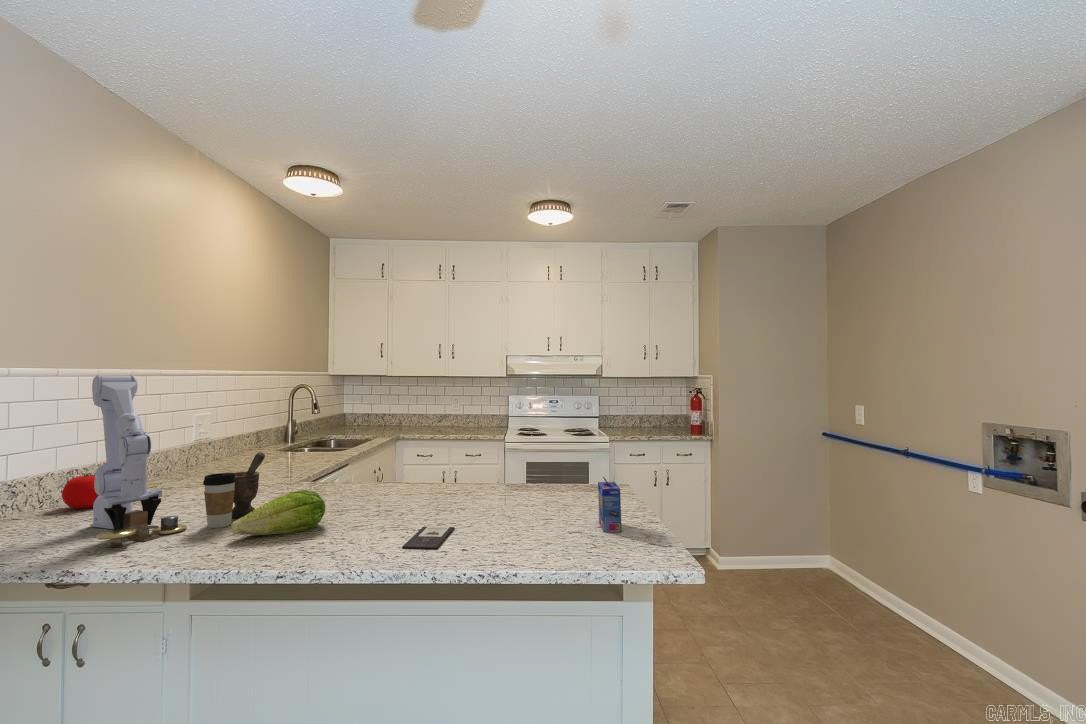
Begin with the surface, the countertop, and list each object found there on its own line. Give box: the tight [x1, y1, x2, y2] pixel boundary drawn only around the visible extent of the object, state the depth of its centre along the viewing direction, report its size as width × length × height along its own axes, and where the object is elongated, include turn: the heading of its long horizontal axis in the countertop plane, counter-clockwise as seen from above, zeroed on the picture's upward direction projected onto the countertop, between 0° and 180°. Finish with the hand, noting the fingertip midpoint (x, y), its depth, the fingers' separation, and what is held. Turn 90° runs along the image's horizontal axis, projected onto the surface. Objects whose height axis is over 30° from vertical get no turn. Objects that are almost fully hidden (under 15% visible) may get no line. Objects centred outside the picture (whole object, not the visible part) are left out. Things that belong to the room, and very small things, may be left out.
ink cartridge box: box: [597, 476, 623, 533], centre depth 154 cm, size 10×6×14 cm, turn 2°
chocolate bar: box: [401, 526, 455, 551], centre depth 144 cm, size 9×1×18 cm
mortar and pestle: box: [232, 451, 266, 519], centre depth 168 cm, size 12×9×20 cm
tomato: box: [61, 473, 100, 510], centre depth 179 cm, size 12×13×11 cm
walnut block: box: [123, 509, 148, 538], centre depth 148 cm, size 4×4×6 cm
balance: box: [95, 515, 187, 549], centre depth 144 cm, size 8×22×4 cm, turn 162°
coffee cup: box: [202, 472, 236, 529], centre depth 157 cm, size 8×8×15 cm
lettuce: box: [230, 489, 326, 536], centre depth 150 cm, size 12×24×13 cm
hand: (133, 528), depth 148 cm, fingers open, 7 cm apart
